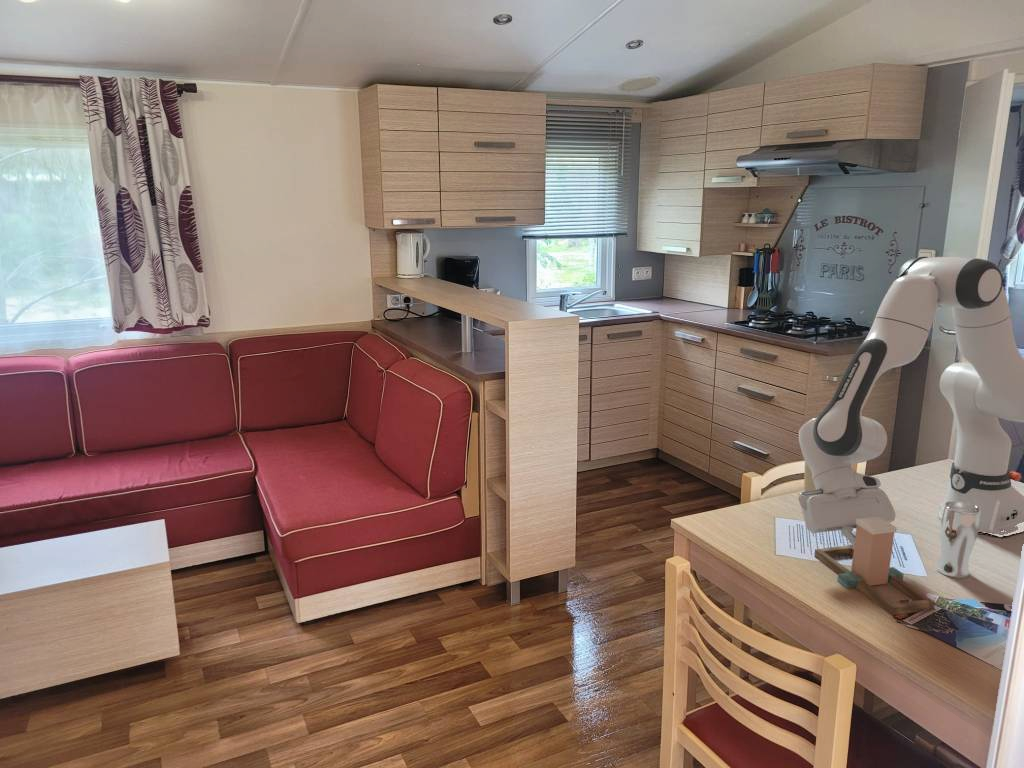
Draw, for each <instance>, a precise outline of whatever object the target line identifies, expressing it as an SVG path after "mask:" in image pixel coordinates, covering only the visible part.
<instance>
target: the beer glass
mask: <svg viewBox="0 0 1024 768" xmlns="http://www.w3.org/2000/svg"><path fill="white" fill-rule="evenodd" d="M980 511H981V510H980V508H979V507H977V506H975V505H973V504H970V503H966V502H961V501H948V502H946V503H945V506H944V510H943V514H942V519H940V526H939V527H940V529H939V533H940V534H939V535H940V554H939V559H938V561H937V562H936V566H935V567H936V570H937V571H938V572H939V574H942V575H944V576H947V577H951V578H954V579H964V578H967V577H968V576H969V575H970V570H969V561H970V557H971V553H972V551H973V549H974V546H975V543H976V541H977V538H978V534H979V533H978V531H979V524H980Z"/></svg>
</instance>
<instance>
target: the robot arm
mask: <svg viewBox="0 0 1024 768" xmlns="http://www.w3.org/2000/svg"><path fill="white" fill-rule="evenodd" d="M1003 282H1004V279H1003V273H1002V272H1001V270H1000V268H999V267H998V265H996V264H995V263H994V262H992V261H989V260H986V259H982V258H969V257H963V256H953V255H952V256H950V255H949V256H935V257H934V256H933V257H929V256H919V257H914V258H911V259H908V260H907V261H906V262H904V263H903V264H902V265H901V267H900V269H899V270H898V272H897V274H896V277H895V280H894V281H893V282H892V284H891V286H890V287H889V288H888V291H887V292H886V293H885V295H884V297H883V300H882V301H881V304H880V305H879V307H878V310H877V313H876V314H875V318H874V320H873V322H872V325H871V328H870V330H869V331H868V334H867V336H866V338H865V339H864V340H863V342H862V343H861V344H860V346H859V347H857V349H856V351H855V352H854V355H853V356H852V358H851V359H850V361H849V364H848V365H847V368H846V370H845V372H844V374H843V376H842V378H841V380H840V382H839V383H838V386H837V388H836V390H835V392H834V395H833V396H832V398H831V400H830V402H829V403H828V404H827V405H826V407H825V408H824V409H823V411H821V413H820V414H819V415H818V416H817V417H814V418H811V419H809V420H808V421H806V422H805V423H804V424H803V425H802V426H801V427H800V428H799V430H798V442H799V446H800V449H801V453H802V455H803V458H804V463H805V462H806V464H807V466H808V467H809V468H810V470H811V472H812V479H813V482H814V485H815V487H816V490H810V491H808V490H806V491H804V490H803V491H802V492H801V493H799V495H798V502H799V504H800V507H801V511H802V514H803V516H802V517H803V519H804V523H805V524H804V525H805V527H806V529H807V530H808V531H809V532H810V533H811V534H817V533H825V532H834V531H841V534H842V535H843V536H844V538H846V539H847V541H849V542H850V543H851V544H850V545H852V546H853V548H854V544H855V536H856V534H855V533H854V532H853V531H854V529H856V528H857V524H856V519H861V518H870V517H880V518H882V519H883V520H885V521H887V522H888V523H890V524H891V523H893V522H894V521H895V519H896V517H897V516H896V515H897V514H896V511H895V509H894V506H893V504H892V502H891V501H890V498H889V497H888V495H887V493H886V492H885V491H884V490H883V489H881V488H880V487H881V486H882V484H881V483H882V482H881V481H880V479H879V478H878V477H875V476H871V475H866V474H862V473H859V472H855V471H854V468H853V465H854V464H860V463H864V462H869V461H872V460H874V459H876V458H879V457H881V455H882V454H883V453H884V452H885V451H886V449H887V447H888V443H889V437H888V432H887V430H886V428H885V427H884V426H883V424H882V423H880V422H879V421H877V420H875V419H873V418H869V417H867V416H865V415H863V414H862V412H863V409H864V407H865V405H866V403H867V401H868V399H869V397H870V394H871V393H872V390H873V388H874V387H875V384H876V382H877V381H878V379H879V378H880V376H882V374H884V373H885V372H887V371H890V370H891V369H894V368H898V367H902V366H905V365H908V364H910V363H911V362H913V361H915V360H916V359H917V358H918V356H919V355H920V353H921V352H922V350H923V349H924V346H925V345H926V342H927V340H928V337H929V335H930V332H931V328H932V326H933V324H934V323H933V322H934V320H935V316H936V312H937V311H936V310H937V309H938V308H951V313H952V321H953V325H954V332H955V338H956V345H957V349H958V352H959V354H960V355H961V356H962V358H963V359H965V360H966V362H954V363H952V364H950V365H948V367H946V368H945V369H944V371H943V372H942V374H941V376H940V379H939V390H940V392H941V394H942V395H943V397H944V398H945V399H946V400H947V402H948V404H949V405H950V409H951V410H952V413H953V416H954V421H955V425H956V433H957V434H956V435H957V436H956V446H955V447H956V448H955V455H954V462H952V463H951V467H950V473H949V478H950V479H949V481H948V485H947V489H946V492H945V495H944V499H943V502H941V503H940V506H939V508H940V507H941V508H940V510H939V512H938V518H939V519H940V520H941V519H942V514H943V510H944V506H945V503H946V502H948V501H961V502H966V503H970V504H973V505H975V506H977V507H979V508H980V510H981V511H980V524H979V531H978V532H986V533H992V534H999V535H1004V534H1008V533H1011V532H1014V531H1016V530H1018V527H1017V526H1016V525H1017V524H1019V523H1022V522H1024V495H1023V494H1022V493H1021V492H1020V491H1019V490H1017V489H1016V488H1015V487H1014V486H1013V485H1012V482H1011V480H1013V481H1015V482H1020V480H1021V479H1022V478H1023V477H1022V474H1021V473H1020V472H1016V471H1013V470H1012V471H1009V470H1008V468H1009V463H1010V457H1011V452H1012V451H1011V450H1012V444H1013V443H1012V440H1011V438H1010V436H1009V434H1008V433H1007V432H1006V431H1005V430H1004V429H1003V428H1002V427H1003V426H1002V425H1001V422H1000V420H999V419H1002V420H1005V421H1010V422H1016V423H1017V422H1018V423H1024V358H1023V356H1022V355H1021V352H1020V350H1019V348H1018V346H1017V344H1016V343H1017V342H1016V340H1015V335H1014V330H1013V324H1012V318H1011V311H1010V305H1009V301H1008V296H1007V294H1006V291H1005V288H1004V286H1003V285H1004V283H1003ZM1015 526H1016V527H1015ZM1003 530H1004V532H1001V531H1003ZM1005 531H1006V532H1005Z"/></svg>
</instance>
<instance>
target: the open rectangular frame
mask: <svg viewBox="0 0 1024 768" xmlns="http://www.w3.org/2000/svg"><path fill="white" fill-rule="evenodd" d="M853 553H854V548H853V546H852V544H850V545H848V544H847V545H842V546H841V545H840V546H832V547H823V548H817V549H815V548H814V554H813V555H815V556H816V557H817V558H816V557H815V556H814V557H815V558H816V559H817V560H819V559H820V560H821V561H820V560H819V561H820V562H822V563H823V564H824V565H826V566H827V567H828V568H829V569H831V570H832V571H833V572H835V573H836V574H837V582H838V583H839V584H841V586H843V587H845V589H850V588H856V589H857V590H859V592H861V593H863V594H864V595H865V596H866V597H868V598H869V599H870V600H872V601H873V602H874V603H875V604H877V605H878V606H880V607H881V608H882V609H884V611H886V612H887V613H889V614H890V615H892V616H897V615H905V614H912V613H919V611H920V612H926V611H925V610H927V611H932V610H935V605H936V602H935V601H934V600H933V599H931V598H930V597H928V595H925V594H924V593H922V592H921V591H920V590H918V589H917V588H915V587H914V586H912V585H911V584H910V583H908V582H906V581H905V580H904V579H903V578H904V573H903V572H902V571H900V570H898V569H897V568H896V567H893V566H890V568H889V576H888V583H890V584H891V585H892V586H893V587H896V588H897V589H898V590H900V592H902V593H903V594H905V595H906V596H908V597H909V598H911V599H912V600H913V601H907V602H900V603H894V602H893V601H891V600H890V599H888V598H887V597H886V596H884V595H883V594H882V593H880V592H879V591H878V590H877V589H875V588H873V587H872V586H869V585H868V584H867V583H865V582H864V581H863V580H861V579H860V578H859V577H857V576H856V575H855V574H853V573H852V572H851V571H850V570H849V569H848V568H847V567H845V566H844V565H842V564H841V563H839V561H837V560H835V559H834V558H833V557H837V556H836V555H841V556H847V554H849V555H850V554H851V555H852V557H853ZM851 555H850V556H851ZM830 556H833V557H830Z"/></svg>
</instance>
